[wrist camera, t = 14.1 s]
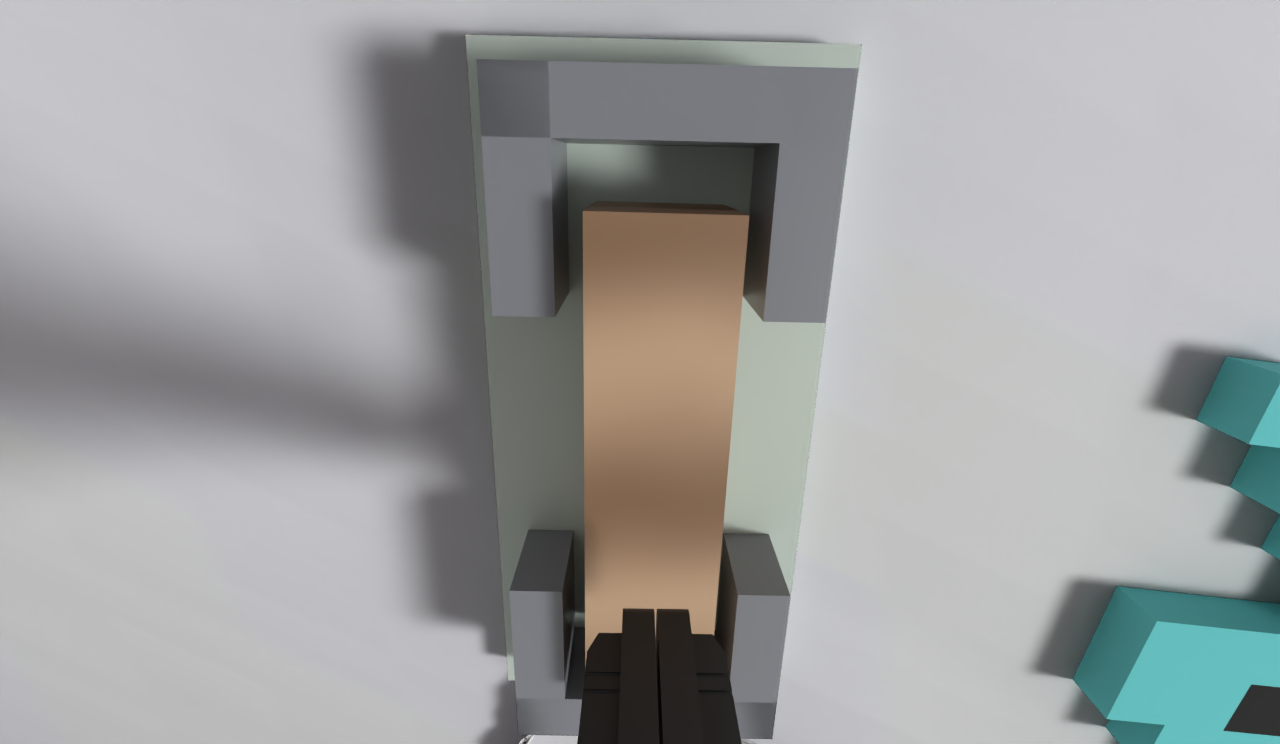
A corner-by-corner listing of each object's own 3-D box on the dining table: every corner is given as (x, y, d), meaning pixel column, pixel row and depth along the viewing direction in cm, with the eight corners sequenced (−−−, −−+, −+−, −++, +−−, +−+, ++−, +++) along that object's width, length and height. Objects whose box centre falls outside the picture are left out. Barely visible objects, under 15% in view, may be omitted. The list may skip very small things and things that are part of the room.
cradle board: (475, 42, 16) (465, 34, 15) (848, 51, 16) (861, 44, 15) (513, 659, 23) (508, 680, 22) (773, 663, 23) (779, 684, 22)
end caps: (507, 79, 15) (476, 58, 12) (817, 87, 15) (858, 67, 12) (534, 659, 21) (518, 734, 18) (754, 663, 21) (772, 738, 19)
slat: (596, 200, 16) (582, 210, 12) (723, 204, 16) (749, 215, 12) (595, 614, 21) (585, 714, 17) (695, 617, 21) (707, 717, 17)
